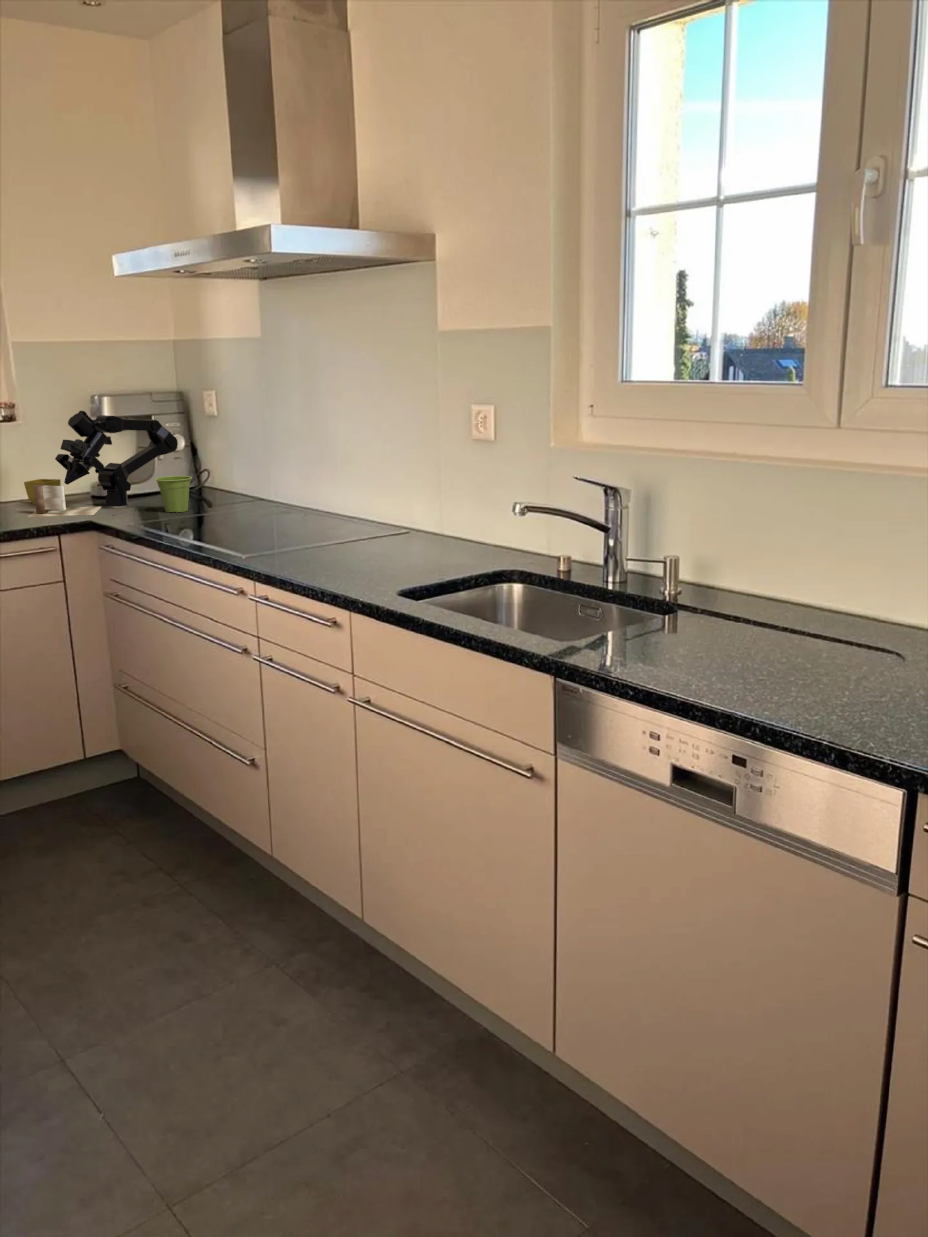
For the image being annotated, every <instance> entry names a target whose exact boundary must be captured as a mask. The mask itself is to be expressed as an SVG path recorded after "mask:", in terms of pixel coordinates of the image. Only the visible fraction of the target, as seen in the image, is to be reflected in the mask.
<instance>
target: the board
mask: <svg viewBox="0 0 928 1237" xmlns="http://www.w3.org/2000/svg"><path fill="white" fill-rule="evenodd" d="M101 508H102V506H76V507H74V506H69V507H66V510H50V511H48V513H36V510H35V511H34V512H32V513H31V514H29V515H28V516H27V518H31V517H32V518H35V517H36V518H37V517H61V516H65V517H67V516H89V515H90V516H93V515H95V514H96V513H97V512H98V511H99V510H100V509H101Z"/></svg>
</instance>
